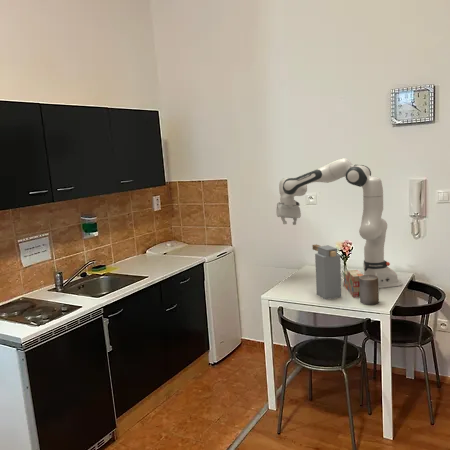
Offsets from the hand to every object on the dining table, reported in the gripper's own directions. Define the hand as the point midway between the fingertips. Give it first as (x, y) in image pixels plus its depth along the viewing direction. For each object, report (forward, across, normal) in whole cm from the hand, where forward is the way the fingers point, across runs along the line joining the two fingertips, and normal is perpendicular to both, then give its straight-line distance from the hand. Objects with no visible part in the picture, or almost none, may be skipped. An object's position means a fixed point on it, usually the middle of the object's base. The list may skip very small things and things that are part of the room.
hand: (289, 224), depth 288 cm
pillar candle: (+51, -4, -52) cm, 73 cm away
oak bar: (+22, -11, -32) cm, 40 cm away
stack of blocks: (+45, +7, -36) cm, 58 cm away
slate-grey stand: (+46, -8, -29) cm, 55 cm away
